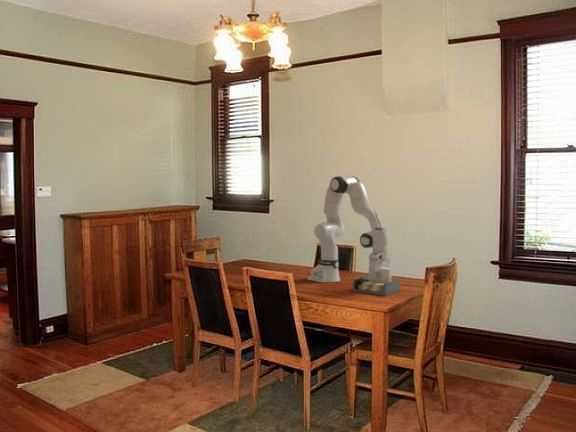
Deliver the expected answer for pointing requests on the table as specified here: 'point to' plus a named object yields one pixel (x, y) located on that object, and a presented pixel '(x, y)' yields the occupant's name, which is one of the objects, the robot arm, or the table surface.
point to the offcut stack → (372, 286)
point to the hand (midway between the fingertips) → (379, 277)
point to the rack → (388, 289)
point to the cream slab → (384, 276)
